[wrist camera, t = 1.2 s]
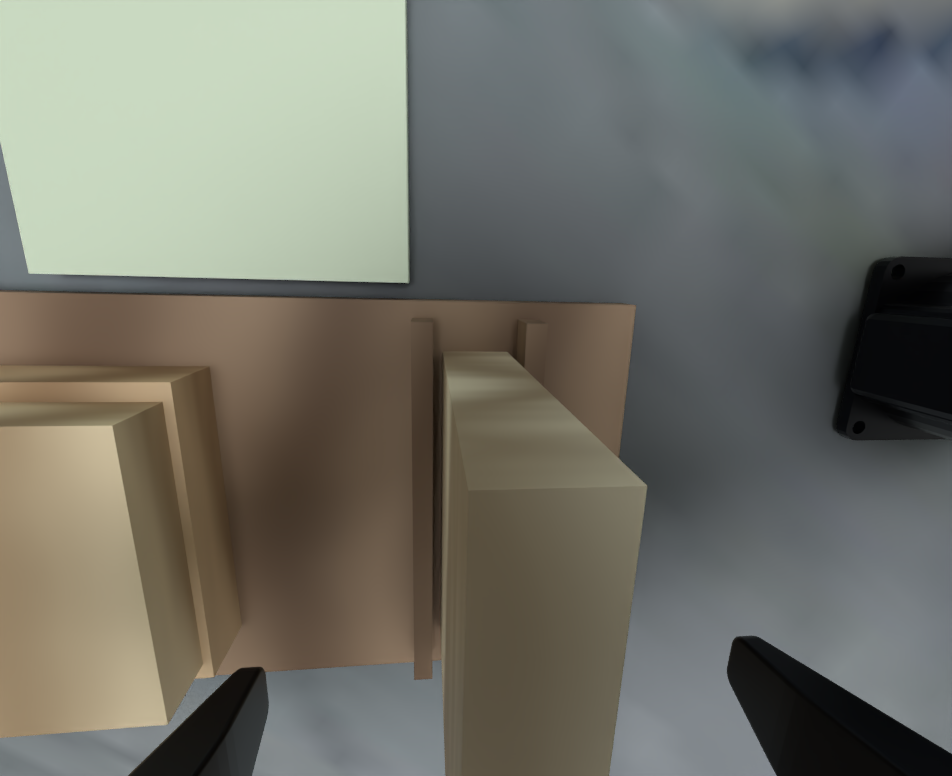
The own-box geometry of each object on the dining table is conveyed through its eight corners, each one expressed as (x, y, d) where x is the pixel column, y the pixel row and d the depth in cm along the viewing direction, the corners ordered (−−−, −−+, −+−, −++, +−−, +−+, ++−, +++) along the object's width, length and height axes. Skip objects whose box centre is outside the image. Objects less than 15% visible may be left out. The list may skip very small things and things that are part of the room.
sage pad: (405, -117, 11) (403, -154, 10) (409, 282, 14) (408, 283, 13) (-30, -171, 10) (-78, -218, 9) (59, 273, 13) (29, 273, 12)
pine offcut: (162, 402, 11) (112, 425, 9) (202, 664, 13) (167, 724, 11) (-64, 402, 10) (-163, 428, 9) (14, 676, 12) (-54, 742, 11)
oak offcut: (209, 366, 13) (170, 382, 11) (241, 625, 15) (214, 677, 13) (-2, 365, 12) (-83, 381, 10) (65, 635, 14) (8, 691, 12)
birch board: (507, 352, 14) (647, 485, 5) (495, 623, 16) (574, 1033, 7) (442, 351, 13) (468, 490, 5) (440, 626, 16) (455, 1052, 7)
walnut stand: (622, 303, 15) (655, 307, 12) (587, 629, 18) (609, 677, 16) (-54, 288, 12) (-153, 291, 10) (45, 662, 16) (-15, 723, 13)
